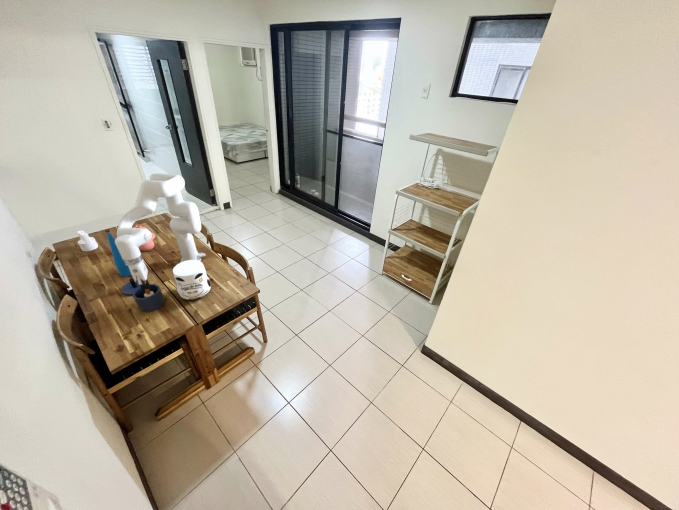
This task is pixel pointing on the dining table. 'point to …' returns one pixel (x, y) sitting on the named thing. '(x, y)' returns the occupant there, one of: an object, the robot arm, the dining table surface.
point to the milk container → (191, 279)
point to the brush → (148, 293)
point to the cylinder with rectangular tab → (86, 241)
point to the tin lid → (130, 287)
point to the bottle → (118, 256)
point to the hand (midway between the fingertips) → (145, 287)
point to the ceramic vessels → (148, 245)
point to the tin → (149, 298)
